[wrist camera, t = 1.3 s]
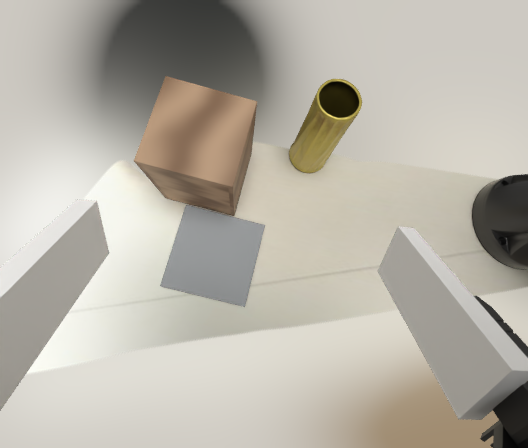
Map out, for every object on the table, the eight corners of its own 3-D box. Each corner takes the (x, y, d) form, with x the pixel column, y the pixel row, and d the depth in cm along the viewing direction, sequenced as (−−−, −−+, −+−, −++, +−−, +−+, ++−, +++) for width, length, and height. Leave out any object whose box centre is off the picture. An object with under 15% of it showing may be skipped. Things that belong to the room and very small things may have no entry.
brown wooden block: (251, 153, 44) (257, 101, 31) (234, 215, 41) (232, 187, 29) (186, 136, 43) (165, 76, 30) (166, 198, 41) (133, 160, 28)
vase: (282, 161, 44) (303, 106, 30) (299, 131, 45) (326, 65, 31) (316, 180, 44) (353, 133, 30) (332, 149, 45) (374, 91, 31)
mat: (264, 225, 42) (265, 225, 41) (244, 306, 39) (244, 306, 39) (186, 205, 41) (186, 204, 41) (160, 286, 38) (160, 286, 38)
